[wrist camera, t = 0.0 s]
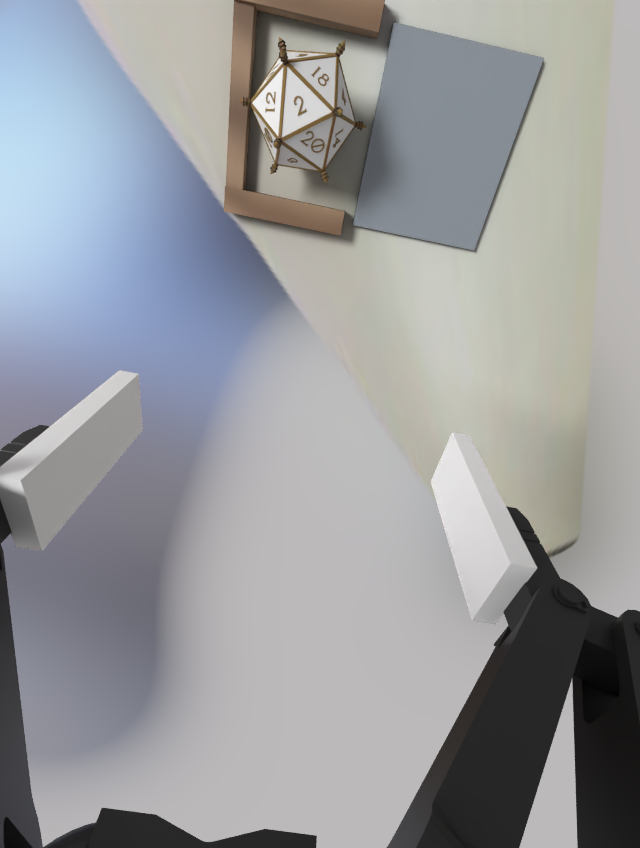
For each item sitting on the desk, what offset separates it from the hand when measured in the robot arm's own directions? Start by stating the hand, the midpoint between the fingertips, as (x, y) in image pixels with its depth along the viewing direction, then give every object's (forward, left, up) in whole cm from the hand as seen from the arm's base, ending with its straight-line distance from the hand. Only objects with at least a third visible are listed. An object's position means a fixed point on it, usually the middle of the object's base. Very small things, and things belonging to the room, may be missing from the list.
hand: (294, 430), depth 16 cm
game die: (-13, -4, -28) cm, 31 cm away
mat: (-13, +8, -28) cm, 32 cm away
